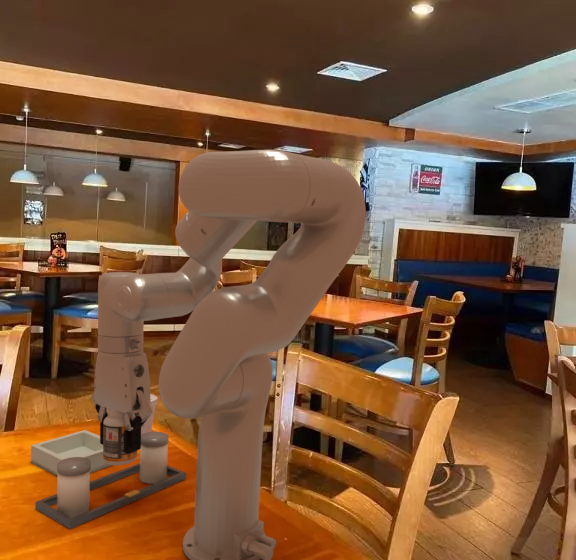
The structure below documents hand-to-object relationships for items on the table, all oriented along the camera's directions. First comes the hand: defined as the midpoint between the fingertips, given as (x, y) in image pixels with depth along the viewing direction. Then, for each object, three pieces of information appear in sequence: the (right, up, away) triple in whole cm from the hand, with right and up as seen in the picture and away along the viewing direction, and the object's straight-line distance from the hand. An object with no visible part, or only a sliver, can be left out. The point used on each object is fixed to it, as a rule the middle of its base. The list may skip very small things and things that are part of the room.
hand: (120, 445), depth 103 cm
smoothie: (-3, -6, +26) cm, 27 cm away
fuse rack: (-1, -9, +1) cm, 9 cm away
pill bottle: (0, -3, 0) cm, 3 cm away
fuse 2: (+4, -8, +8) cm, 12 cm away
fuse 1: (-6, -9, -5) cm, 12 cm away
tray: (-12, -7, +13) cm, 19 cm away
